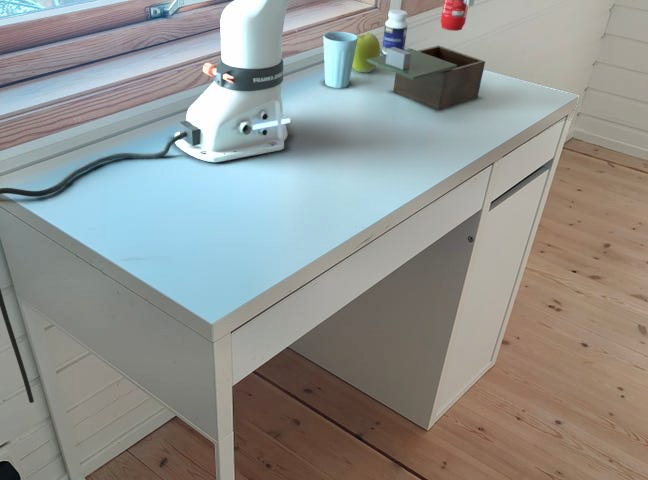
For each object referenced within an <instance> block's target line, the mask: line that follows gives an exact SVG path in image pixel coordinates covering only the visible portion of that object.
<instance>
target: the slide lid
mask: <svg viewBox="0 0 648 480" xmlns="http://www.w3.org/2000/svg"><path fill="white" fill-rule="evenodd" d="M367 62H369V63H371V64H374V65H376V67H378V68H381V69H384V70H387V71H388V72H389V71H390V72H391V73H394V74H396V73H397V74H399V75H402V76H405V77H407V78H410V79H412V80H415V79H418V78H422V77H426V76H429V75H433V74H436V73H440V72H444V71H447V70H451V69H454V68H457V65H456V64H453V63H450V62H447V61H444V60H441V59H439V58H436V57H433V56H430V55H427V54H425V53H422V52H419V51H418V50H416V49H413V48H406V49H404V50H401V49H398V48H396V47H391V48H387V54H386V55H385V54H380V56H377V57H373V58H369V59H367Z"/></svg>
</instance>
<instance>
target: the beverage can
mask: <svg viewBox="0 0 648 480" xmlns="http://www.w3.org/2000/svg"><path fill="white" fill-rule="evenodd" d="M463 1H464V0H443V6H442V10H441V16H440V24H441V25H440V26H441V29H443V30H446V31H451V32H452V31H454V32H455V31H456V32H457V31H461V30H463V27H464V26H465V24H466V19H467V14H468V10H469V6H466V5H463Z"/></svg>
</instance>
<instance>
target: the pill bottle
mask: <svg viewBox="0 0 648 480" xmlns="http://www.w3.org/2000/svg"><path fill="white" fill-rule="evenodd" d="M387 17H388V19H387V20H386V21H385V23H384V31H383V38H382V46H381V52H382V54H383V55H386V54H387V48H391V47H396V48H398V49H401V50H405V46H406V40H407V33H408V22H407V21H406V20H407V18H408V12H407V11H406V10H403V9H390V10H389V11H388V14H387Z"/></svg>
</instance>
